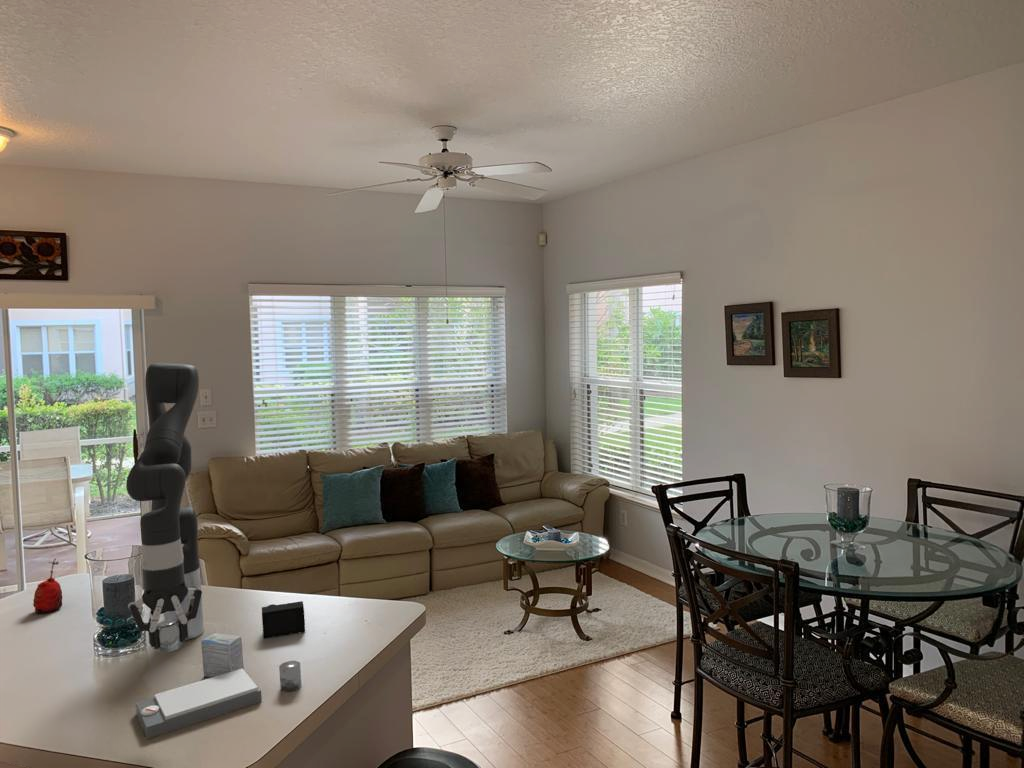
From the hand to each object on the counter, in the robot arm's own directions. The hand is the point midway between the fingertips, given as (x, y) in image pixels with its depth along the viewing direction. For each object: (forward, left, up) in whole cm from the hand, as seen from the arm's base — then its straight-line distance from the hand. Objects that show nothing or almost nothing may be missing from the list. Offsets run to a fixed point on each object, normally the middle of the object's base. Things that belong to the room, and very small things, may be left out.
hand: (169, 643), depth 148 cm
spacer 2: (+4, +23, -15) cm, 28 cm away
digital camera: (-26, +32, -16) cm, 44 cm away
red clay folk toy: (-87, -16, -15) cm, 90 cm away
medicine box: (-12, +13, -15) cm, 24 cm away
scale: (0, +5, -15) cm, 16 cm away
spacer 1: (0, 0, -1) cm, 1 cm away
